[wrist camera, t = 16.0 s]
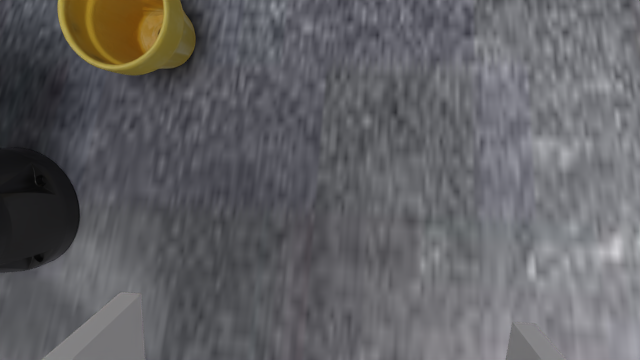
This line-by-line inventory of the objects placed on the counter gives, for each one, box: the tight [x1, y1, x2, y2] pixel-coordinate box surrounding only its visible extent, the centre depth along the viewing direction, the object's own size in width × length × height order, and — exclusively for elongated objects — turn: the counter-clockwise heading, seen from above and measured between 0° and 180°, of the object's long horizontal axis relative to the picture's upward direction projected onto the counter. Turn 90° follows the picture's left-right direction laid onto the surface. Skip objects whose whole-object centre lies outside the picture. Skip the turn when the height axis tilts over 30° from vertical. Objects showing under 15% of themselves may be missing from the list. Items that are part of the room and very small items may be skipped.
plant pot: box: [58, 0, 196, 75], centre depth 37 cm, size 10×10×10 cm
